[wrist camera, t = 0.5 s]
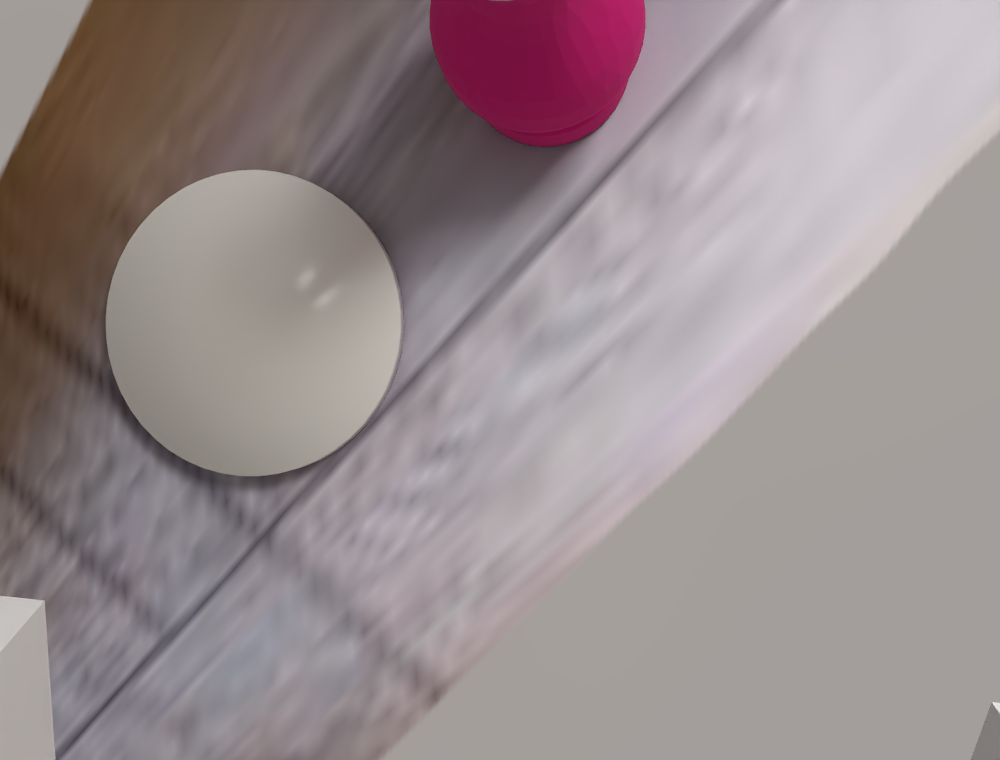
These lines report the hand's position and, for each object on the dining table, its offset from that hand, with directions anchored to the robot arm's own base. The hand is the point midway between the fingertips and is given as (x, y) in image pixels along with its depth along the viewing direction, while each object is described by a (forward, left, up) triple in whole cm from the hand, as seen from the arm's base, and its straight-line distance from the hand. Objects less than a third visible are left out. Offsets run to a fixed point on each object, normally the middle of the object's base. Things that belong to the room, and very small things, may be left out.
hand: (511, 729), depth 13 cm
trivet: (-3, -15, -22) cm, 27 cm away
